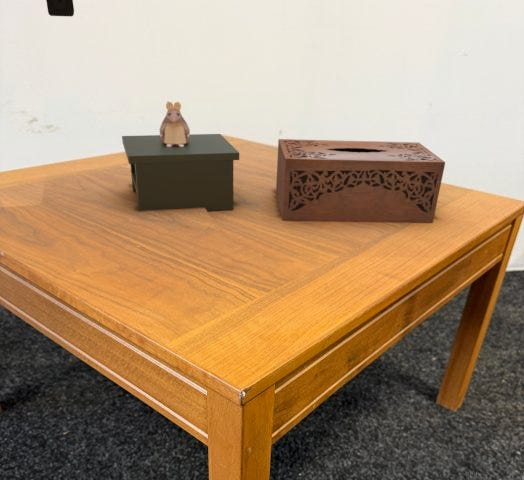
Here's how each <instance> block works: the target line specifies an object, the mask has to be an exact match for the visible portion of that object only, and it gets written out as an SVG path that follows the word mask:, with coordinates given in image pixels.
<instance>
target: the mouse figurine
mask: <svg viewBox="0 0 524 480" xmlns="http://www.w3.org/2000/svg"><path fill="white" fill-rule="evenodd" d="M165 107H166V110H167V111H166V114H165V116H164V118H163V120H162V121H161V124H160V127H159V135H160V141H161V142H162V143H164V144H165V145H167V147H173V146H178V147H184V145H185V144H187V143H188V142H189V141H190V135H191V132H190V131H191V130H190V127H189V125H188V123H187V121H186V119H185V118H184V116H183V114H182V113H181V108H182V105H181V103H180V101H176V102H174V103H173V102H172V101H167V102H166V103H165Z"/></svg>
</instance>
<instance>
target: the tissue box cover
mask: <svg viewBox="0 0 524 480" xmlns="http://www.w3.org/2000/svg"><path fill="white" fill-rule="evenodd" d="M276 163H277V164H276V182H275V183H276V184H275V196H276V200H277V205H278V208H279V213H280V217H281V221H292V222H293V221H295V222H296V221H300V222H301V221H302V222H303V221H304V222H314V221H315V222H363V223H366V222H369V223H371V222H372V223H427V224H429V223H431V224H432V223H434V219H435V213H436V209H437V205H438V199H439V194H440V190H441V185H442V180H443V176H444V171H445V166H446V162H445V160H443V159H441V158H440V157H439V156H438V155H436V154H435V153H434V152H432V151H431V150H430V149H429V148H427V147H426V146H425V145H423V144H422V143H420V142H416V141H415V142H413V141H411V142H410V141H375V140H373V141H372V140H368V141H367V140H333V139H332V140H331V139H295V138H294V139H290V138H287V139H285V138H278V141H277V161H276Z"/></svg>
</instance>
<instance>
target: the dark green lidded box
mask: <svg viewBox="0 0 524 480" xmlns="http://www.w3.org/2000/svg"><path fill="white" fill-rule="evenodd" d="M121 140H122V145H123V148H124V152H125V155H126V159H127V162H128V164H129V167H130V175H131V176H130V177H131V186H132V192H135V193H136V197H137V205H138V210H139V212H144V211H161V210H162V211H164V210H180V209H182V210H183V209H200V208H201V209H202V208H204V209H205V210H206V212H217V211H218V212H219V211H233V210H234V161H239V160H240V152H239V150H237V148H235V147H234V146H233V145H232V143H230V142H229V140H227V139H226V138H225V137H224V136H223V135H222V134H221V133H197V134H196V133H194V134H190V141H189V142H188V143H187V144H185V145H184V147H178V146H173V147H167V145H165V144H164V143H162V142H161V141H160V134H152V135H148V134H147V135H122V136H121Z"/></svg>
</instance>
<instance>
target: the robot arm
mask: <svg viewBox="0 0 524 480" xmlns="http://www.w3.org/2000/svg"><path fill="white" fill-rule="evenodd" d="M45 1H46V9H47V14H48V15H49V16H50V17H73V16H74V14H75V7H74V0H45Z"/></svg>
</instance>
